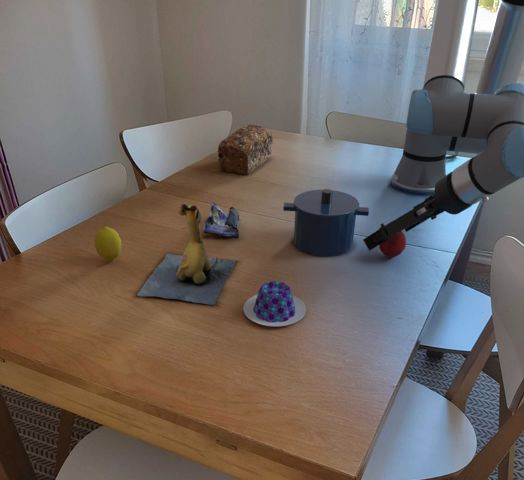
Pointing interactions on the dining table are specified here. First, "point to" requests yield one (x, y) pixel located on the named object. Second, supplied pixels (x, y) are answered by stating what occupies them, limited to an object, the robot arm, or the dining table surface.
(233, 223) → the snack package
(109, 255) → the lemon
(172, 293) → the stuffed giraffe
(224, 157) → the bread
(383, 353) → the dining table surface
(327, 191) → the pot lid
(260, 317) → the pudding
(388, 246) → the onion
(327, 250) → the pot
